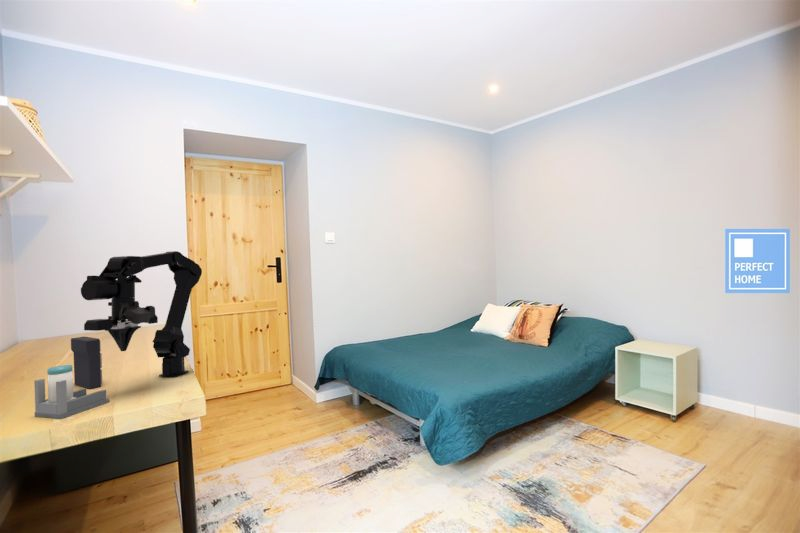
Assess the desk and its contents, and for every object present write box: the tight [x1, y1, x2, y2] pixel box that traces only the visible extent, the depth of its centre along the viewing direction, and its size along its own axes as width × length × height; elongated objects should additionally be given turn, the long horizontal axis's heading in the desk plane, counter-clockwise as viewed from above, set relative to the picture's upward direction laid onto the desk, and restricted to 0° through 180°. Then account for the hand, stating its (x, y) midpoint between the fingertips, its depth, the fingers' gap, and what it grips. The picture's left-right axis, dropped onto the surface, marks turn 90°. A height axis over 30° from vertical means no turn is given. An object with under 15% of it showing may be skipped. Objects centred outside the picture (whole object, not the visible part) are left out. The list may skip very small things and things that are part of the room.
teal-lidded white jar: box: [46, 364, 76, 403], centre depth 100 cm, size 5×5×10 cm
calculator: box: [70, 336, 103, 390], centre depth 124 cm, size 11×4×15 cm, turn 59°
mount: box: [33, 378, 110, 420], centre depth 103 cm, size 12×9×9 cm
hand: (123, 351), depth 117 cm, fingers closed
